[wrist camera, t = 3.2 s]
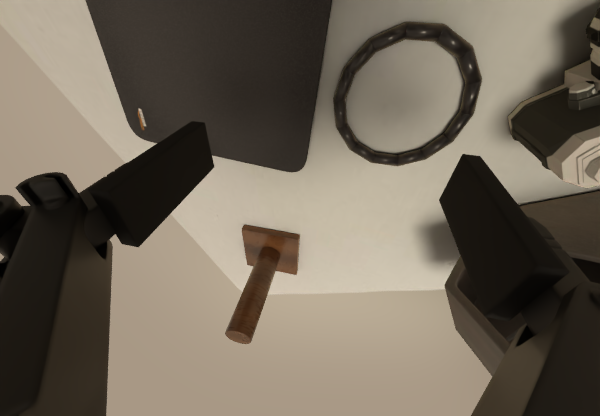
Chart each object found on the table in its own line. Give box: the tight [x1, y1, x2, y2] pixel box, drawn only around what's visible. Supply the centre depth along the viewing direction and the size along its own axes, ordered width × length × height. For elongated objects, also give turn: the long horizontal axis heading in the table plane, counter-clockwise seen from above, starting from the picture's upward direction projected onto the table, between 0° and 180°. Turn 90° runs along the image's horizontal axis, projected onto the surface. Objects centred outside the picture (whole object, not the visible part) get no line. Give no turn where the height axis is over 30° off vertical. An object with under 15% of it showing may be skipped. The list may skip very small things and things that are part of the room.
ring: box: [334, 22, 482, 166], centre depth 20 cm, size 11×11×1 cm
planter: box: [445, 191, 600, 377], centre depth 19 cm, size 17×8×21 cm
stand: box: [225, 225, 300, 344], centre depth 32 cm, size 8×8×13 cm
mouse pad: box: [86, 0, 332, 172], centre depth 20 cm, size 23×20×1 cm
